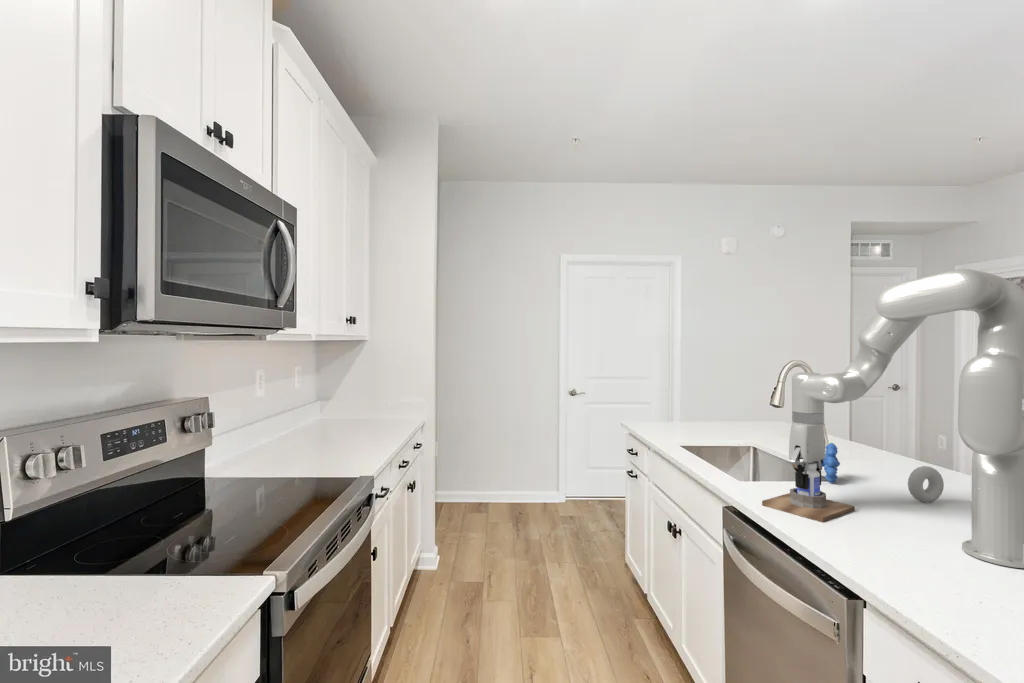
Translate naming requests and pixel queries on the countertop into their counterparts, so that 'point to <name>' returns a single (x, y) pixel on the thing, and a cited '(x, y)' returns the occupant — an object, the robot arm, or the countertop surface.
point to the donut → (933, 484)
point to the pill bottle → (811, 481)
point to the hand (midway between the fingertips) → (808, 485)
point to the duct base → (809, 512)
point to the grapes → (831, 462)
